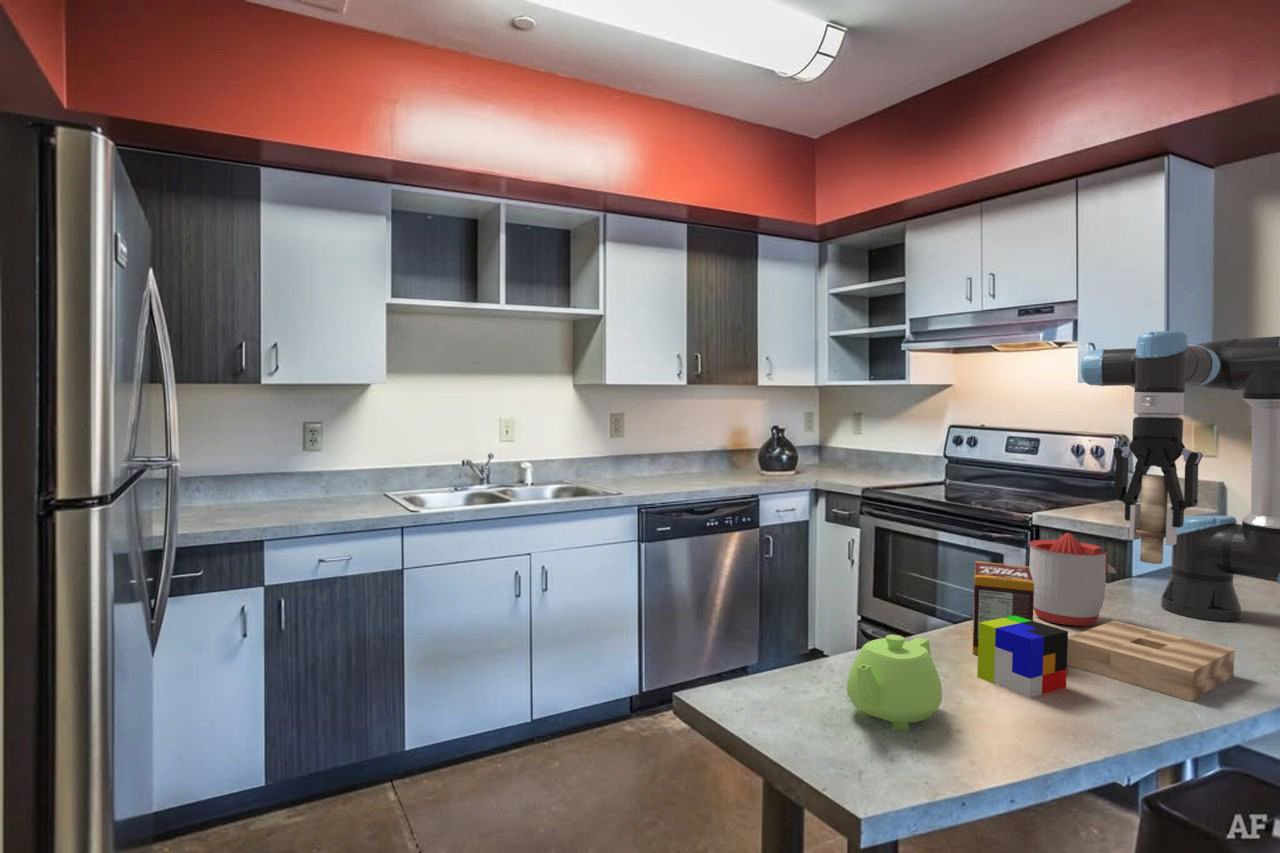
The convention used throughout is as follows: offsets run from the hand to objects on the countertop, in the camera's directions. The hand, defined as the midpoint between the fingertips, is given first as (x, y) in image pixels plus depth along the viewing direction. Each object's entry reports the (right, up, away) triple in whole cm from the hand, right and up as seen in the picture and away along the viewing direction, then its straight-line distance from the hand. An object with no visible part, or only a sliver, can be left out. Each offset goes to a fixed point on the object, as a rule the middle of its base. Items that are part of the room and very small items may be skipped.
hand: (1152, 541), depth 133 cm
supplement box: (-22, -24, +13) cm, 35 cm away
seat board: (0, -24, +1) cm, 24 cm away
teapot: (-55, -25, -20) cm, 63 cm away
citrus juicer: (+3, -23, +31) cm, 39 cm away
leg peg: (0, -4, 0) cm, 4 cm away
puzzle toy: (-27, -24, -6) cm, 37 cm away
